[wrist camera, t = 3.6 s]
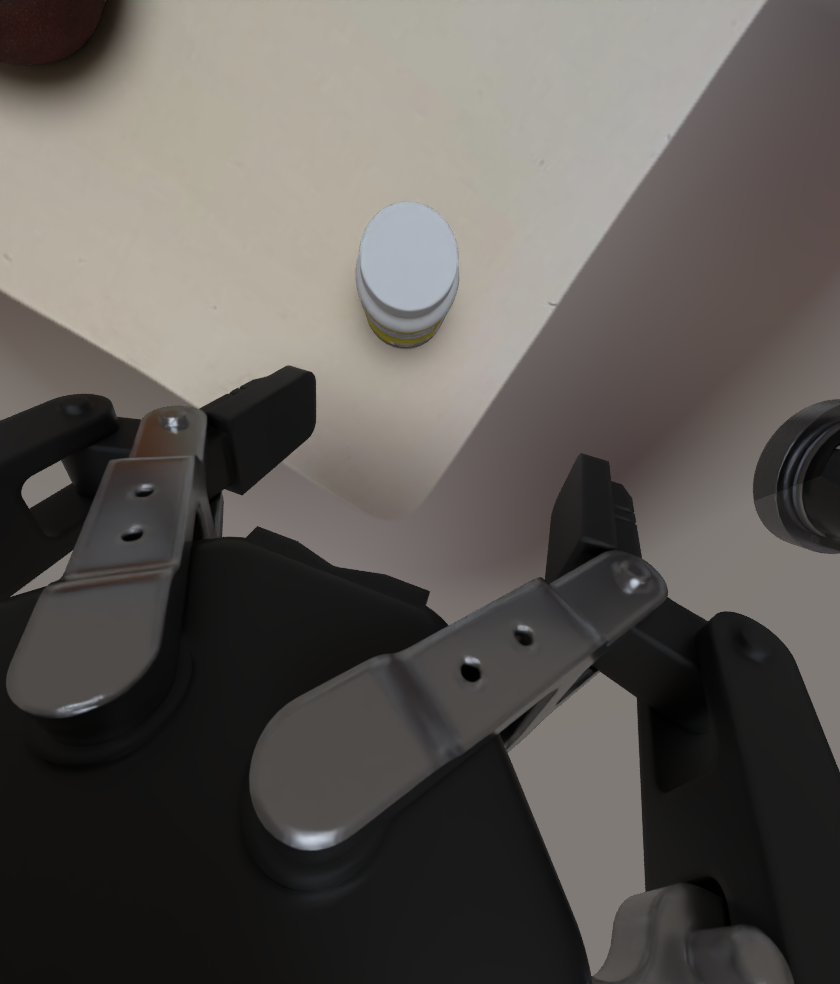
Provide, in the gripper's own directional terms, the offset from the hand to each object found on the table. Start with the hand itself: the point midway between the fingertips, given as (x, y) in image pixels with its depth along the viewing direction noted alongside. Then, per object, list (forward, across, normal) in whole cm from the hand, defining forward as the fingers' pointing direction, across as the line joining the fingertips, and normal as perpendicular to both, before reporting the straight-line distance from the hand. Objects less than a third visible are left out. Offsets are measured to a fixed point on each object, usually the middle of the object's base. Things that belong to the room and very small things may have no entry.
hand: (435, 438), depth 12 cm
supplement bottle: (+14, -6, -1) cm, 16 cm away
